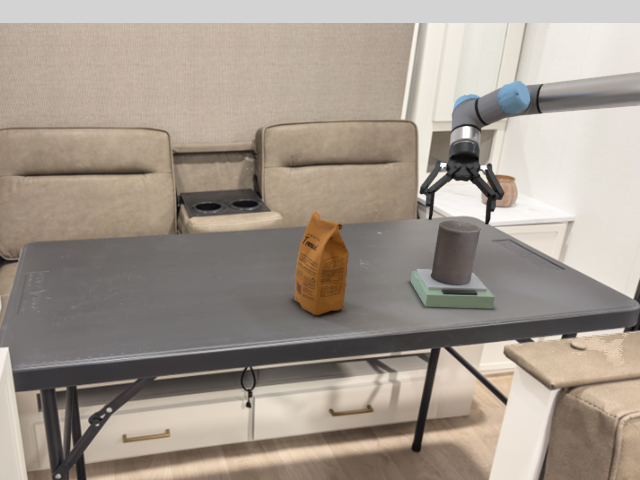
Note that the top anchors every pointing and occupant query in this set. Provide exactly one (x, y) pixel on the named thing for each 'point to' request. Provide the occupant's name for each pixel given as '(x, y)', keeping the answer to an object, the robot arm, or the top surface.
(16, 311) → the top surface
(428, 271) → the scale
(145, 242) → the top surface
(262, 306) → the top surface
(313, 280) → the coffee package
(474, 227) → the pillar candle
